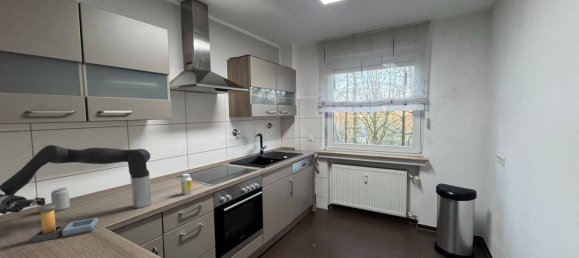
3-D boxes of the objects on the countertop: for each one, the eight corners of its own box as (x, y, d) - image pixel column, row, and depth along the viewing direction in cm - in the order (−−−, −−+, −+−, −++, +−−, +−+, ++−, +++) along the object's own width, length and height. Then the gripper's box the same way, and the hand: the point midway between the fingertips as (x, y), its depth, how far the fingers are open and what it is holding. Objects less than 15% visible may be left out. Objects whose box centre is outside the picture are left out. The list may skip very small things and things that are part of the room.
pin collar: (41, 234, 107) (41, 229, 107) (65, 230, 111) (65, 224, 111) (32, 242, 100) (31, 237, 100) (58, 237, 103) (57, 232, 103)
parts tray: (71, 228, 112) (71, 222, 112) (98, 223, 117) (97, 217, 117) (63, 237, 103) (62, 230, 103) (91, 231, 108) (91, 225, 108)
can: (49, 210, 138) (47, 190, 138) (65, 206, 145) (63, 186, 145) (57, 212, 135) (55, 191, 135) (72, 207, 142) (71, 187, 142)
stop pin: (44, 235, 106) (42, 206, 106) (60, 232, 109) (57, 204, 108) (38, 240, 102) (36, 210, 101) (55, 237, 104) (52, 208, 104)
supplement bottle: (193, 191, 164) (192, 173, 164) (191, 194, 158) (190, 175, 157) (183, 192, 163) (182, 173, 163) (180, 195, 157) (179, 176, 156)
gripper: (-12, 200, 107) (8, 203, 101) (30, 191, 120) (50, 193, 115) (-11, 217, 107) (9, 221, 102) (31, 205, 120) (51, 209, 115)
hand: (31, 206), depth 108 cm, fingers open, 8 cm apart
